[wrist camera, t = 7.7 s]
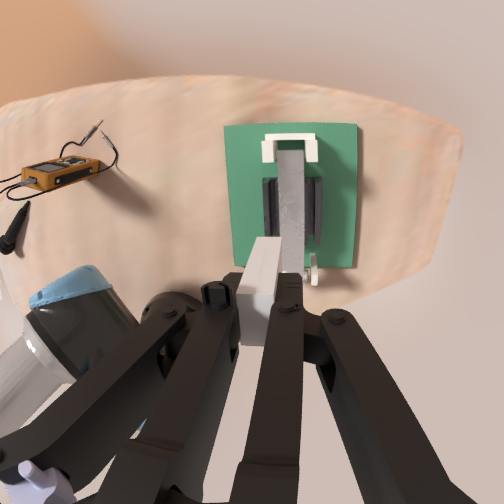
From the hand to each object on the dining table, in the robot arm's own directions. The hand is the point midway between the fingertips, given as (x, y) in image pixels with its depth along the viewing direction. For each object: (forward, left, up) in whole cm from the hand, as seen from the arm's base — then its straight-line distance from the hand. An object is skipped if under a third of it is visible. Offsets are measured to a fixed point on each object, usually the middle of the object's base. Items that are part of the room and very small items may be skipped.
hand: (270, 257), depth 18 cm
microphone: (-4, +62, -25) cm, 67 cm away
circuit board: (-2, -1, -25) cm, 25 cm away
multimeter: (+10, +33, -25) cm, 43 cm away
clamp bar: (-3, -1, -19) cm, 19 cm away
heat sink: (-3, -1, -23) cm, 23 cm away
